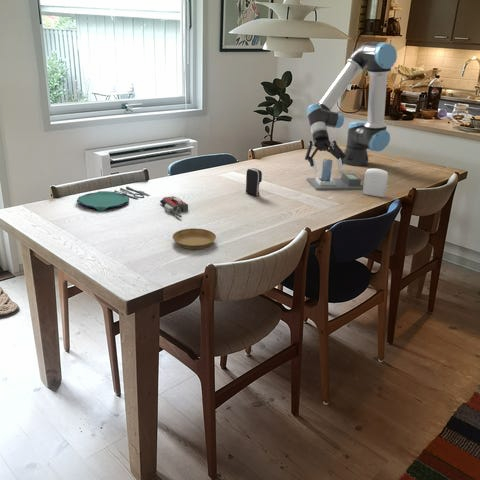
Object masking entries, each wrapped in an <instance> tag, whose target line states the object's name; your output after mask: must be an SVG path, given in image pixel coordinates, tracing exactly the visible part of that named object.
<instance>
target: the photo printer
mask: <svg viewBox="0 0 480 480" xmlns="http://www.w3.org/2000/svg"><path fill="white" fill-rule="evenodd" d="M388 179H389V172H388V171H387V170H384V169H381V168H373V167H372V168H368V169H366V172H365V173H364V182H363V190H362V194H363V195H368V196H372V197H373V196H374V197H379V198H385V197H386V191H387V188H388V187H387V185H388Z"/></svg>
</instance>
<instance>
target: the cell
mask: <svg viewBox="0 0 480 480" xmlns="http://www.w3.org/2000/svg"><path fill="white" fill-rule="evenodd" d="M321 166H322V169H321V174H320V175H321V177H320V178H321V182H330V178H332V176H331V175H332V170H333V168H332V167H333V160H332V159H331V158H325V159H323V160H322V165H321Z"/></svg>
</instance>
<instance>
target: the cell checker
mask: <svg viewBox="0 0 480 480" xmlns="http://www.w3.org/2000/svg"><path fill="white" fill-rule="evenodd" d="M306 182H308V183H309V184H310V185H311V187H312V188H313V189H315V191H350V190H351V191H353V190H354V191H358V190H361V191H363V187H364V185H362V178H360V177H358V176H357V175H356V174H354V173H342V174H341V177H331V178H330V182H321V177H306Z"/></svg>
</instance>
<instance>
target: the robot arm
mask: <svg viewBox="0 0 480 480" xmlns="http://www.w3.org/2000/svg"><path fill="white" fill-rule="evenodd" d="M397 57H398V53H397V49H396V47H394V45H392V44H391V43H388V42H384V41H380V42H379V41H366V42H363V43H362V44H360V45H359V46H358V47H357V48H356V49H355V50H354V51H352V53H351V54H350V56H349V57H348V59H347V60H346V64H345V66H344V67H343V69H342V70H341V71H340V73H339V74H338V75H337V77H336V78H335V80H334V81H333V82H332V83H331V85H330V86H329V88H328V89H327V91H326V92H325V94H324V95H323V96H322V97H321V99H320V100H319V102H318V103H313V104H310V105H308V107H307V108H306V113H307V118H308V123H309V127H310V130H311V131H310V132H311V135H312V140H313V141H312V140H309V142H308V144H307V145H308V147H307V151H306V154H305V157H304V160H305V161H308V162H309V166H310V167H311V168H312V172H313V174H316V173H317V172H318V168H317V164H316V160H315V158H314V157H315V155H316V154H317V152H318V151H319V152H328V153H330V154H331V155H332V156H333V157H334V158H336V161H337V165H338V171H339V173H340V174H341V173H342V174H343V171H344V166H343V165H344V164H345V165H349V166H356V167H357V166H358V167H360V166H361V167H363V166H367V165H368V164H369V156H368V150H370V151H372V152H382V151H383V150H385V149H386V147H387V146H389V143H390V140H391V134H390V133H389V131H387V123H385V113H386V112H385V111H386V99H387V98H386V97H387V84H388V74H389V73H390V72H391V71H392V67H394V65H395V63H396V61H397ZM365 68H366V72H367V73H368V74H369V85H368V98H367V118H366V120H367V121H351V122H349V124H348V128H347V129H348V131H347V138H346V145H345V146H346V147H345V149H344V151H343V150H342V149H341V148H340V146H339V145H338V144H337V141H336V140H333V141H330V138H329V133H328V129H327V127H329V128H333V129H341V127H343V125H344V123H345V116H344V115H343V114H342V113H339V112H335V111H332V109H333V108H334V106H335V105H336V104H337V103H338V101H339V100H340V98H341V97H342V96H343V94H344V93H345V91H346V90H347V89H348V87H349V86H350V85H351V83H352V82H353V80H355V78H356V76H357V75H358V74H359V73H361V72H363V70H364V69H365ZM312 147H315V150H313V152H312V154H311V151H312V149H313V148H312ZM310 155H311V156H310Z"/></svg>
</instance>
